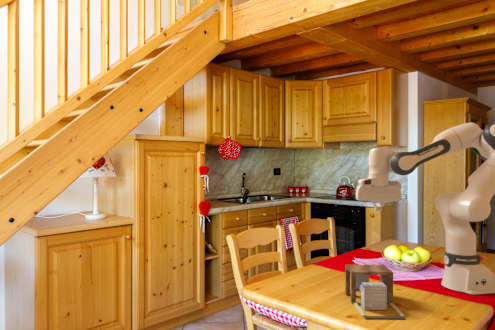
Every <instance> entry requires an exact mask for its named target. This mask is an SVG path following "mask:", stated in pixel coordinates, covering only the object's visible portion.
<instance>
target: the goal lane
mask: <svg viewBox="0 0 495 330" xmlns="http://www.w3.org/2000/svg"><path fill="white" fill-rule="evenodd" d="M353 305H354V307H355V309H356V310H357V311H358V313H359V314H360V316H361V317H362V318H364V316H366V314H365V313H364V311H363V310H362V308H361V307H360V305H359V304H358V303H357V302H356V303H353ZM389 306H390V307H392V309H393V310H394V311H395V312H396V313H397V314H398V316H404V318H406V317H405V314H404V313H403V312H402V311H401V310H400V309H399V308H398V307H397V305H395V304H394V302H393V303H390V304H389Z"/></svg>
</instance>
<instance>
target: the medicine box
mask: <svg viewBox="0 0 495 330" xmlns="http://www.w3.org/2000/svg"><path fill="white" fill-rule="evenodd" d="M387 303H388V302H387V286H386V285H385V284H384V283H383V282H380V281H379V282H376V281H373V282H372V281H369V282H361V291H360V305H361V307H362V309H363V310H364V311H388V310H387V309H388V308H387V307H388V304H387Z"/></svg>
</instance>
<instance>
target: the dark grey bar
mask: <svg viewBox="0 0 495 330" xmlns="http://www.w3.org/2000/svg"><path fill="white" fill-rule="evenodd" d="M363 318H364V319H365V320H406V317H404V316H400V315H398V316H397V315H365V316H364V317H363Z"/></svg>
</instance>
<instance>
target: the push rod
mask: <svg viewBox="0 0 495 330" xmlns="http://www.w3.org/2000/svg"><path fill="white" fill-rule="evenodd" d="M361 282H370V275H356V290H359V291H360V292H361Z"/></svg>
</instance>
